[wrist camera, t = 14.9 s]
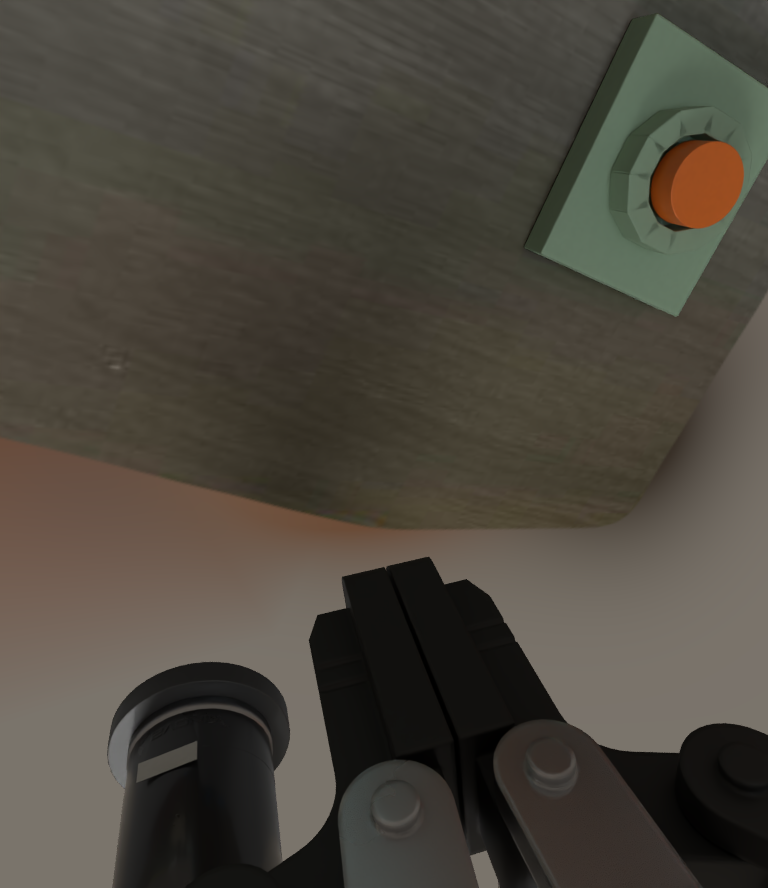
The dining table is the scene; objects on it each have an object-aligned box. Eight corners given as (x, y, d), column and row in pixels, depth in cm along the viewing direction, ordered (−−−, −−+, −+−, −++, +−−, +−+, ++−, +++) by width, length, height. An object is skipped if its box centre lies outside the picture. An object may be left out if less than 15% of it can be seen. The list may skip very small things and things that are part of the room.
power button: (692, 235, 35) (714, 240, 34) (636, 205, 34) (656, 209, 32) (734, 160, 34) (759, 162, 32) (677, 126, 33) (700, 126, 31)
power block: (655, 308, 41) (697, 325, 37) (523, 247, 37) (555, 260, 34) (767, 108, 37) (825, 106, 34) (631, 18, 33) (681, 6, 30)
